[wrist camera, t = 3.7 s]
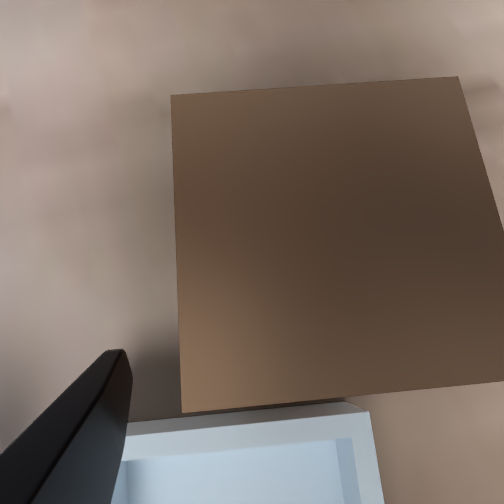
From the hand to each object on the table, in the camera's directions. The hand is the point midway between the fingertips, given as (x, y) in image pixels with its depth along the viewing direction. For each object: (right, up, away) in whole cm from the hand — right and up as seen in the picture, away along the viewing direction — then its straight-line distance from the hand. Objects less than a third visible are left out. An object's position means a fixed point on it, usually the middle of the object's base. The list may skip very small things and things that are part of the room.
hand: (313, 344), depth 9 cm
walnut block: (0, -1, +9) cm, 9 cm away
